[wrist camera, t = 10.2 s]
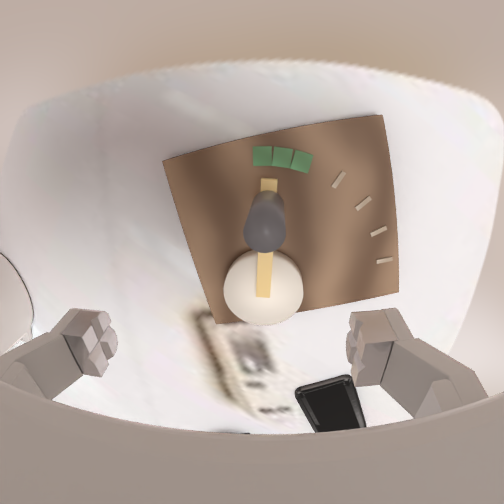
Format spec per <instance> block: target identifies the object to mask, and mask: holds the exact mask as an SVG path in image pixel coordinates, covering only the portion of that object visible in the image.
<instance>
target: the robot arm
mask: <svg viewBox="0 0 504 504" xmlns="http://www.w3.org/2000/svg"><path fill="white" fill-rule="evenodd" d="M32 320H33V310H32V305H31V301H30V298H29V295H28V293H27V290H26V288H25V286H24V284H23V282H22V280H21V278H20V277H19V275H18V273H17V272H16V270H15V269H14V268H13V266H12V265H11V264H10V263H9V261H8V260H7V259H6V258H5V257H4V256H3V255H1V254H0V504H504V392H502V393H499V394H497V395H494V396H491V397H488V395H487V393H486V392H485V390H484V388H483V386H482V384H481V383H480V381H479V379H478V377H477V376H476V374H475V372H474V371H473V370H471V369H470V368H468V367H466V366H465V365H463V364H461V363H460V362H458V361H456V360H454V359H453V358H451V357H450V356H448V355H446V354H444V353H443V352H441V351H439V350H438V349H436V348H434V347H432V346H431V345H429V344H427V343H426V342H424V341H422V340H420V339H419V338H416V339H414V337H413V335H412V334H411V332H410V330H409V328H408V326H407V325H406V323H405V321H404V319H403V317H402V316H401V314H400V312H399V310H398V309H397V308H389V309H381V310H374V311H361V312H351V315H350V320H349V324H350V327H351V330H350V331H349V332H348V334H347V340H346V353H347V359H348V362H349V363H351V364H352V368H351V375H352V379H353V382H354V386H355V387H361V386H372V385H380V386H381V387H382V388H383V389H384V390H385V391H386V392H387V393H388V394H389V395H390V396H391V397H392V398H393V399H395V400H396V401H397V402H398V403H399V404H400V405H401V406H402V407H403V408H404V409H405V410H406V411H407V412H408V413H409V414H410V415H411V416H413V417H414V419H411V420H406V421H401V422H396V423H391V424H385V425H379V426H373V427H366V428H358V429H350V430H341V431H331V432H319V433H303V434H231V433H215V432H203V431H193V430H184V429H176V428H168V427H161V426H155V425H149V424H143V423H138V422H133V421H128V420H123V419H118V418H114V417H109V416H105V415H101V414H97V413H93V412H89V411H85V410H82V409H78V408H75V407H71V406H68V405H65V404H62V403H58V402H55V401H52V399H53V398H55V397H56V396H57V395H58V394H60V393H61V392H62V391H63V390H65V389H66V388H67V387H69V386H70V385H71V384H72V383H74V382H75V381H76V380H78V379H79V378H80V377H81V376H83V374H85V375H91V376H97V377H102V376H103V374H104V372H105V370H106V369H107V367H108V365H109V363H108V359H110V358H111V357H113V356H114V354H115V353H116V351H117V345H118V340H117V335H116V333H115V331H114V330H113V329H112V328H111V327H110V323H111V319H110V317H109V314H108V313H107V312H105V311H98V310H89V309H78V308H73V309H70V310H69V311H68V312H67V313H66V314H65V315H64V317H63V318H62V319H61V320H60V321H59V322H58V323H57V325H56V326H55V327H54V328H53V329H52V330H51V332H50V333H49V332H46V333H44V334H42V335H40V336H38V337H36V338H34V339H32V333H31V324H32ZM31 339H32V340H31ZM19 340H22V341H25V342H26V343H25V344H23V345H21V346H19V347H17V348H15V349H13V350H11V351H9V350H10V349H11V348H12V347H13V346H14V345H15V344H16V343H17V342H18V341H19ZM7 351H9V352H7ZM6 352H7V353H6Z"/></svg>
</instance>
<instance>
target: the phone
mask: <svg viewBox="0 0 504 504" xmlns="http://www.w3.org/2000/svg"><path fill="white" fill-rule="evenodd" d="M295 397H296V399H297V401H298V403H299V405H300V407H301V408H302V410H303V412H304V414H305V416H306V417H307V419H308V421H309V423H310V424H311V426H312V428H313V430H314V431H315V433H319V432H331V431H341V430H350V429H358V428H366V422H365V419H364V415H363V412H362V408H361V405H360V401H359V398H358V395H357V391H356V388H355V386H354V382H353V379H352V376H350V375H341V376H338V377H334V378H331V379H327V380H324V381H320V382H317V383H313V384H309V385H305V386H301V387H299V388H297V389H296V390H295Z"/></svg>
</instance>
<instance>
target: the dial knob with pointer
mask: <svg viewBox="0 0 504 504" xmlns="http://www.w3.org/2000/svg"><path fill="white" fill-rule="evenodd" d="M277 180H278V179H272V178H261V192H260V193H258V194H257V195H256V196H255V197H254V199H253V202H252V204H251V207H250V210H249V213H248V216H247V219H246V222H245V225H244V229H243V237H244V240H245V242H246V244H247V245H248V246H249V247H250V248H251V249H253V250H251V251H249V252H246V253H244V254H242V255H241V256H239V257H238V258H237V259H236V260H235V261H234V262H233V263H232V265H231V267H230V268H229V271H228V274H227V277H226V280H225V283H224V290H223V291H224V298H225V301H226V304H227V305H228V307H229V309H230V310H231V311H232V312H233V313H234V314H235V315H236V316H237V317H239V318H240V319H242V320H244V321H246V322H248V323H251V324H255V325H262V326H267V325H274V324H278V323H281V322H283V321H285V320H287V319H289V318H290V317H291V316H293V315H294V314H295V313H296V311H297V310H298V309H299V307H300V305H301V303H302V299H303V283H302V276H301V273H300V270H299V268H298V267H297V265H296V264H295V262H294V261H293V260H292V259H291V258H289V257H288V256H287V255H285V254H283V253H281V252H279V251H276V250H277V249H278V248H279V247H281V245H282V244H283V242H284V240H285V237H286V227H285V212H284V202H283V199H282V198H281V196H280V195H279V194H278V193H277Z"/></svg>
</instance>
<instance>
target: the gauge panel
mask: <svg viewBox="0 0 504 504" xmlns="http://www.w3.org/2000/svg"><path fill="white" fill-rule="evenodd" d="M162 162H163V166H164V169H165V173H166V176H167V179H168V183H169V186H170V189H171V193H172V196H173V199H174V203H175V206H176V209H177V212H178V215H179V219H180V222H181V225H182V228H183V231H184V234H185V237H186V240H187V243H188V246H189V249H190V252H191V255H192V258H193V261H194V264H195V267H196V270H197V273H198V276H199V279H200V281H201V284H202V287H203V290H204V293H205V295H206V298H207V301H208V304H209V307H210V309H211V312H212V315H213V317H214V320H215V323H216V324H222V323H230V322H237V321H244V320H242V319H240V318H239V317H237V316H236V315H235V314H234V313H233V312H232V311H231V310H230V309H229V307H228V305H227V304H226V301H225V298H224V291H223V290H224V283H225V280H226V277H227V274H228V271H229V268H230V267H231V265H232V263H233V262H234V261H235V260H236V259H237V258H238V257H239V256H241V255H242V254H244V253H246V252H249V251H251V250H253V249H251V248H250V247H249V246H248V245H247V244H246V242H245V240H244V237H243V229H244V225H245V222H246V219H247V216H248V213H249V210H250V207H251V204H252V202H253V199H254V197H255V196H256V195H257V194H258V193H260V192H261V178H272V179H278V180H277V193H278V194H279V195H280V196H281V198H282V199H283V202H284V212H285V227H286V237H285V240H284V242H283V244H282V245H281V247H279V248H278V249H277V250H276V251H279V252H281V253H283V254H285V255H287V256H288V257H289V258H291V259H292V260H293V261H294V262H295V264H296V265H297V267H298V268H299V270H300V273H301V276H302V283H303V299H302V303H301V305H300V307H299V309H298V310H297V311H296V312H302V311H308V310H314V309H319V308H325V307H330V306H335V305H341V304H346V303H351V302H356V301H361V300H365V299H370V298H375V297H379V296H384V295H388V294H393V293H397V292H399V258H398V233H397V218H396V206H395V195H394V185H393V177H392V169H391V162H390V155H389V148H388V142H387V136H386V130H385V125H384V120H383V115H374V116H365V117H357V118H350V119H342V120H336V121H329V122H323V123H317V124H311V125H305V126H300V127H294V128H289V129H284V130H279V131H274V132H270V133H265V134H260V135H256V136H252V137H247V138H243V139H239V140H235V141H231V142H227V143H223V144H219V145H216V146H212V147H208V148H205V149H201V150H197V151H194V152H191V153H187V154H184V155H180V156H177V157H174V158H171V159H168V160H165V161H162Z"/></svg>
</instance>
